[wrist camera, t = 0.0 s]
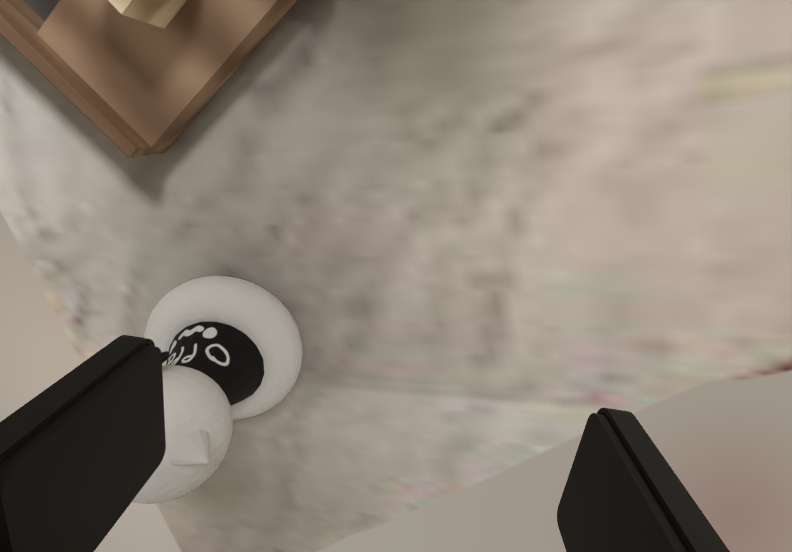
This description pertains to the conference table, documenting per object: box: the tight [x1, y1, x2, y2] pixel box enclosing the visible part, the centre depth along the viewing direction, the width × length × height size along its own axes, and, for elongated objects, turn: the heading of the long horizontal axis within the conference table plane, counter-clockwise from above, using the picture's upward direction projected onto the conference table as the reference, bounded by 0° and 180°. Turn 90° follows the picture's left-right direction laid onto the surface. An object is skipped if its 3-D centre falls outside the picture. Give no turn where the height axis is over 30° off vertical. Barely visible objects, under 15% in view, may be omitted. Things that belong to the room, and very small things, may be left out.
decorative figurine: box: [132, 276, 303, 504], centre depth 36 cm, size 15×15×20 cm
